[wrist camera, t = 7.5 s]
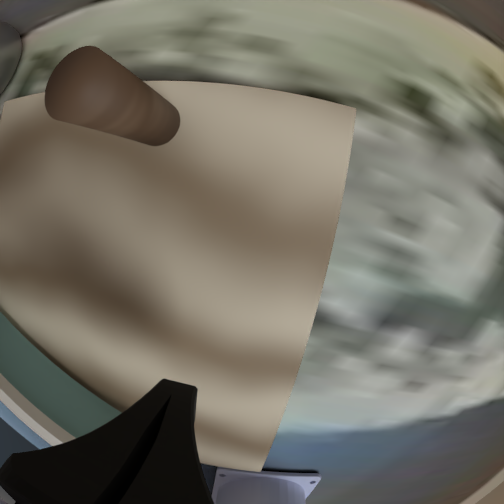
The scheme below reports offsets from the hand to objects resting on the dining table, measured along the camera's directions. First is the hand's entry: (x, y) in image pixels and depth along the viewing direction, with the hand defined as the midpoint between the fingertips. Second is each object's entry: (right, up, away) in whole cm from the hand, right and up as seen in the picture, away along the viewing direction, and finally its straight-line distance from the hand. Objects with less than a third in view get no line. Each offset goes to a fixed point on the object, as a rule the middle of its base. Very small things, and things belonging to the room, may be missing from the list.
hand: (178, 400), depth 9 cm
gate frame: (-5, +3, +4) cm, 7 cm away
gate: (-11, -1, +4) cm, 12 cm away
